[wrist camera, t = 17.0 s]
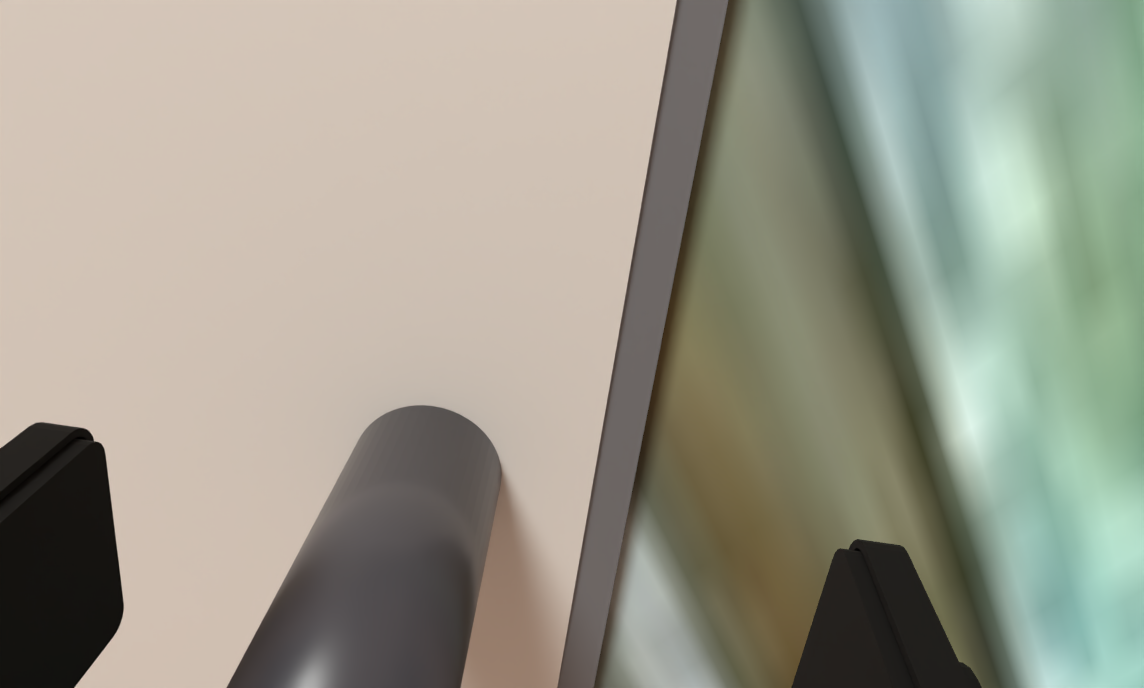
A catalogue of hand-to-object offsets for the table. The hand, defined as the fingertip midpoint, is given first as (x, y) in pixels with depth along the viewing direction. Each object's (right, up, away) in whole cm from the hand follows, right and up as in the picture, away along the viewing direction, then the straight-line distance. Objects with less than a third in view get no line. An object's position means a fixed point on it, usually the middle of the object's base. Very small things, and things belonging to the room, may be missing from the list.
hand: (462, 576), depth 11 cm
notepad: (-6, +2, +10) cm, 12 cm away
